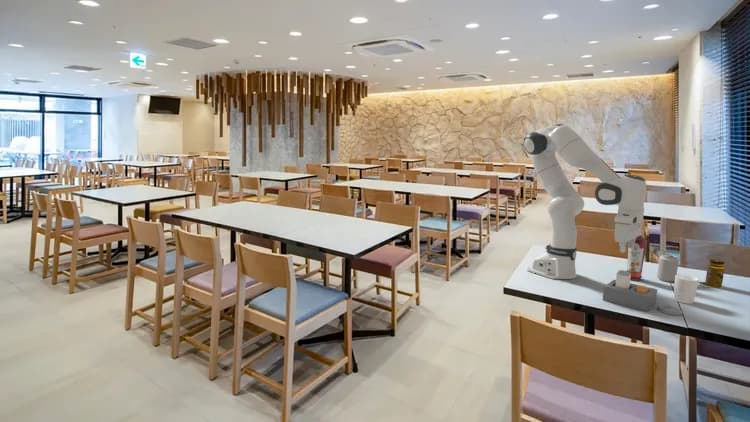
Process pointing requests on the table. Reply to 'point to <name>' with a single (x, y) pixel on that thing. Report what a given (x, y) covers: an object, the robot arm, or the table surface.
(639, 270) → the liquor
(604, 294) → the housing
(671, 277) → the can
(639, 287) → the orange round ball
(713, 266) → the condiment
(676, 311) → the coaster
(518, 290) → the table surface
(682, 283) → the white cup
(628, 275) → the cartridge
